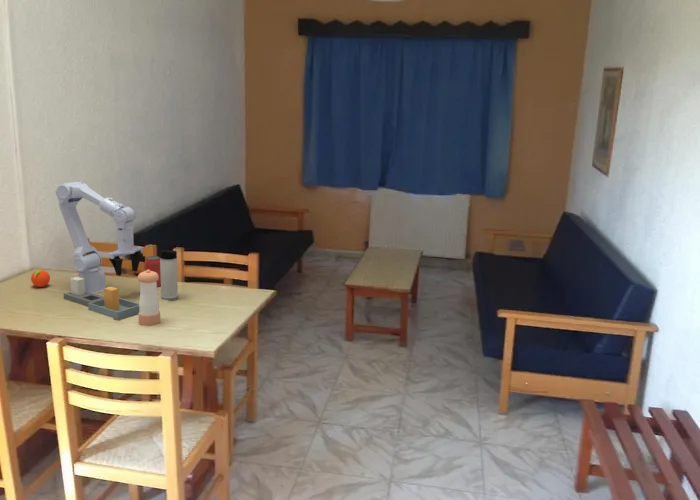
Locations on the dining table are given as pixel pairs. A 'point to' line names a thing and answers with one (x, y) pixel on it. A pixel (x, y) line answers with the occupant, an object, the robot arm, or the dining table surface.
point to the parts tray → (125, 310)
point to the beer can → (153, 266)
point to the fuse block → (83, 298)
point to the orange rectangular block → (111, 298)
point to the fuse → (77, 286)
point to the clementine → (40, 278)
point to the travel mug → (168, 274)
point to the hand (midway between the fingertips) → (126, 273)
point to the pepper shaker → (148, 298)
